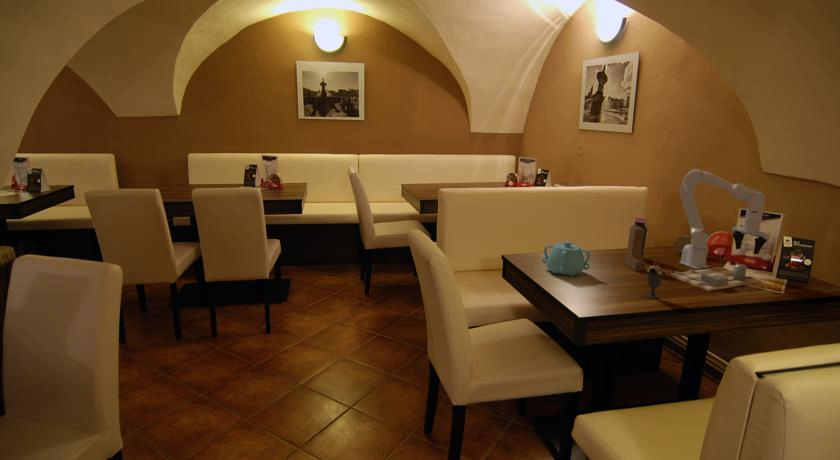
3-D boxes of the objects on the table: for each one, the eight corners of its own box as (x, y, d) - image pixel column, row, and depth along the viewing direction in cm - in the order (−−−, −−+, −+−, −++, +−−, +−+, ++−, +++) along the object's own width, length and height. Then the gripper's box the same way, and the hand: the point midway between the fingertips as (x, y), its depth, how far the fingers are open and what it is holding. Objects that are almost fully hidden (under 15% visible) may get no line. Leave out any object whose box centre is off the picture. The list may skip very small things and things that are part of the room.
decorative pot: (572, 265, 217) (574, 236, 214) (592, 277, 202) (595, 246, 199) (538, 267, 214) (541, 237, 211) (556, 279, 199) (559, 247, 195)
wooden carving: (708, 257, 235) (711, 237, 232) (707, 259, 231) (710, 239, 229) (670, 250, 244) (673, 231, 241) (669, 253, 240) (672, 233, 238)
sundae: (655, 293, 186) (661, 256, 182) (665, 300, 179) (671, 262, 175) (639, 293, 185) (644, 256, 182) (647, 300, 179) (653, 261, 175)
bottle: (628, 259, 228) (633, 218, 223) (626, 255, 235) (632, 215, 230) (643, 260, 226) (649, 219, 221) (641, 256, 233) (647, 216, 228)
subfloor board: (670, 275, 206) (671, 272, 206) (720, 269, 217) (721, 265, 216) (708, 290, 190) (708, 286, 189) (760, 282, 200) (761, 278, 200)
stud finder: (700, 280, 197) (701, 272, 196) (711, 279, 199) (712, 271, 198) (716, 286, 191) (717, 278, 190) (726, 285, 193) (728, 276, 192)
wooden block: (644, 271, 211) (650, 231, 207) (635, 271, 211) (640, 231, 206) (634, 264, 220) (639, 226, 215) (624, 264, 220) (629, 226, 215)
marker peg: (730, 277, 202) (733, 263, 201) (738, 276, 203) (741, 263, 202) (738, 280, 199) (741, 267, 197) (746, 280, 200) (749, 266, 198)
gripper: (730, 217, 209) (724, 247, 213) (764, 225, 197) (758, 257, 200) (740, 216, 212) (734, 246, 215) (775, 223, 199) (768, 255, 203)
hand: (746, 251), depth 208 cm, fingers open, 7 cm apart
